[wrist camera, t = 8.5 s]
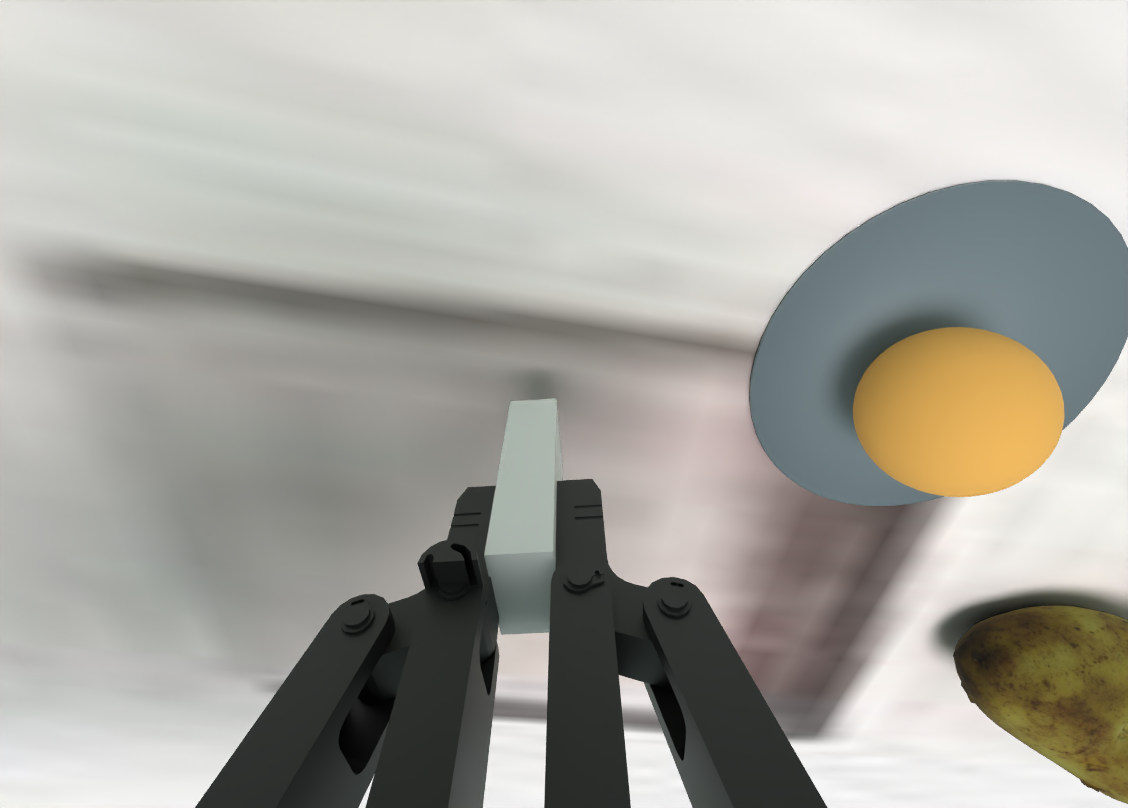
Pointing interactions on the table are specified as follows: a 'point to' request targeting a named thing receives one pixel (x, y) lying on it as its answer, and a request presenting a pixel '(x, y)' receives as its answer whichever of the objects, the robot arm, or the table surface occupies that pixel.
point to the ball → (958, 412)
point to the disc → (935, 316)
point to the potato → (1056, 687)
